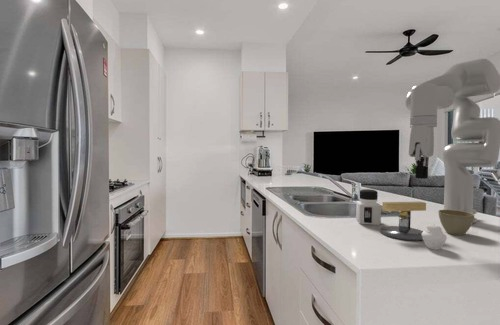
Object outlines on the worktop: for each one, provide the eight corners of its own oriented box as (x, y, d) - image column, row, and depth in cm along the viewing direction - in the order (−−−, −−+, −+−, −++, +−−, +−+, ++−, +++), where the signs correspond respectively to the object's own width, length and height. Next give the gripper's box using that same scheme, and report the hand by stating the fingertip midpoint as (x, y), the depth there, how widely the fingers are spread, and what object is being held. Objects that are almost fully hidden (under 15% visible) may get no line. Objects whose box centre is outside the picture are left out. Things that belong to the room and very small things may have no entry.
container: (380, 225, 105) (381, 191, 105) (359, 224, 107) (360, 190, 106) (375, 220, 113) (376, 188, 113) (355, 219, 115) (356, 188, 114)
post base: (399, 227, 103) (399, 200, 103) (437, 237, 90) (438, 207, 90) (371, 231, 97) (372, 203, 97) (408, 243, 84) (409, 210, 84)
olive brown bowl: (430, 230, 98) (431, 210, 98) (450, 228, 102) (451, 208, 102) (460, 239, 89) (461, 216, 89) (480, 235, 93) (481, 214, 92)
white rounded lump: (428, 251, 78) (429, 226, 77) (416, 244, 84) (417, 221, 83) (451, 252, 77) (452, 227, 77) (437, 244, 83) (438, 221, 83)
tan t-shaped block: (382, 217, 94) (382, 202, 94) (420, 216, 95) (420, 201, 95) (386, 218, 92) (386, 203, 91) (425, 217, 93) (426, 202, 93)
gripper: (417, 125, 99) (416, 176, 100) (402, 121, 89) (401, 178, 89) (442, 123, 93) (440, 177, 94) (429, 119, 83) (427, 180, 84)
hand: (421, 178), depth 92 cm, fingers closed
